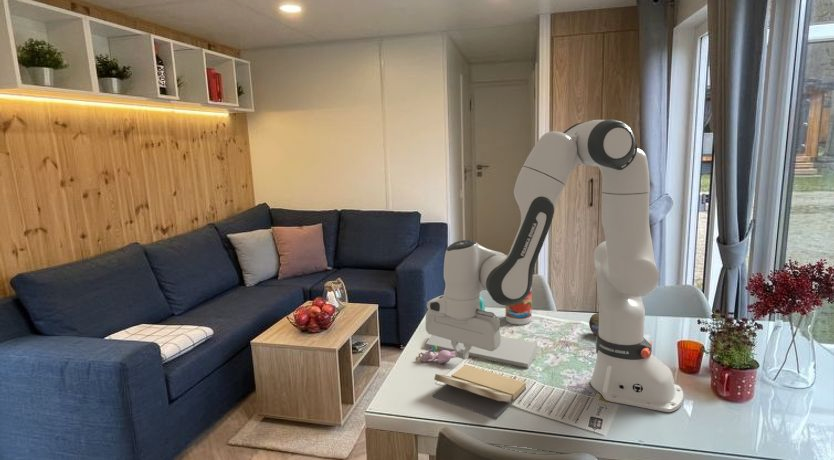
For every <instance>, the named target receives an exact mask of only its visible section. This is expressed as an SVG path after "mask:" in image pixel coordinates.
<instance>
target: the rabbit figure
mask: <svg viewBox="0 0 834 460" xmlns="http://www.w3.org/2000/svg"><path fill="white" fill-rule="evenodd" d="M432 346H433V348H430V349H429V350H428V351H426V352H424V353H423V352H420V353H418V356H415V359H416V360H415V361H416V362H418V361H419V360H420V361H421V362H422V363H427V362H431V361H432V362H434V361H436V360H437V361H438V364H444V363H448V362H449V361H450V360H451V359H454V358H457V357H455V351H452V352H450V351H447V350H439V352H438V354H437V353H436V352H437V350H438V349H437V346H435V345H432ZM432 353H433V354H432ZM418 359H419V360H418Z"/></svg>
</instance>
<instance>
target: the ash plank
mask: <svg viewBox="0 0 834 460" xmlns="http://www.w3.org/2000/svg"><path fill="white" fill-rule="evenodd" d="M433 378H434V381H437V382H440V383H443V384H445V385H446V384H449V385H452V386H455V387H458V388H461V389H464V390H467V391H470V392H473V393H476V394H479V395H482V396H485V397H488V398H491V399H494V400H497V401H508V402H511V397H512V396H511V395H508V394H505V393H502V392H498V391H495V390H492V389H489V388H486V387H483V386H479V385H476V384H473V383H470V382H467V381H464V380H460V379H457V378H454V377H452V375H445V374H435V376H434V377H433Z"/></svg>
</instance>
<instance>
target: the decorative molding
mask: <svg viewBox="0 0 834 460" xmlns="http://www.w3.org/2000/svg"><path fill="white" fill-rule="evenodd" d="M500 340H501V343H500V346H499V347H498V348H497V349H495V350H494V351H488V350H484V349H481V348H477V347H474V346H472V347H471V349H470V351H469V357H472V358H473V357H474V358H478V359H483V360H488V361H494V362H497V363H503V364H506V365H507V364H508V365H513V366H518V367H522V368H527V369H529V368H530V366H532V364H533V362H534V360H535V359H536V358H537V356H538V355H539V351H538V342H535V341H529V340H523V339H517V338H512V337H507V336H501V335H500ZM425 345H426V347H427V348H430V349H432V348H433V346H432V345H435V346H437V350H439V351H442V350H447V351H450V352H452V351H455V350H454V348H453V346H452V344H451V340H449V339H445V338H441V337H438V336H434V335H430V337H429V338H428V339H427V342H425ZM459 345H460V347H461V349H463V350H465V348H466V347H464V344H463V343H459Z"/></svg>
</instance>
